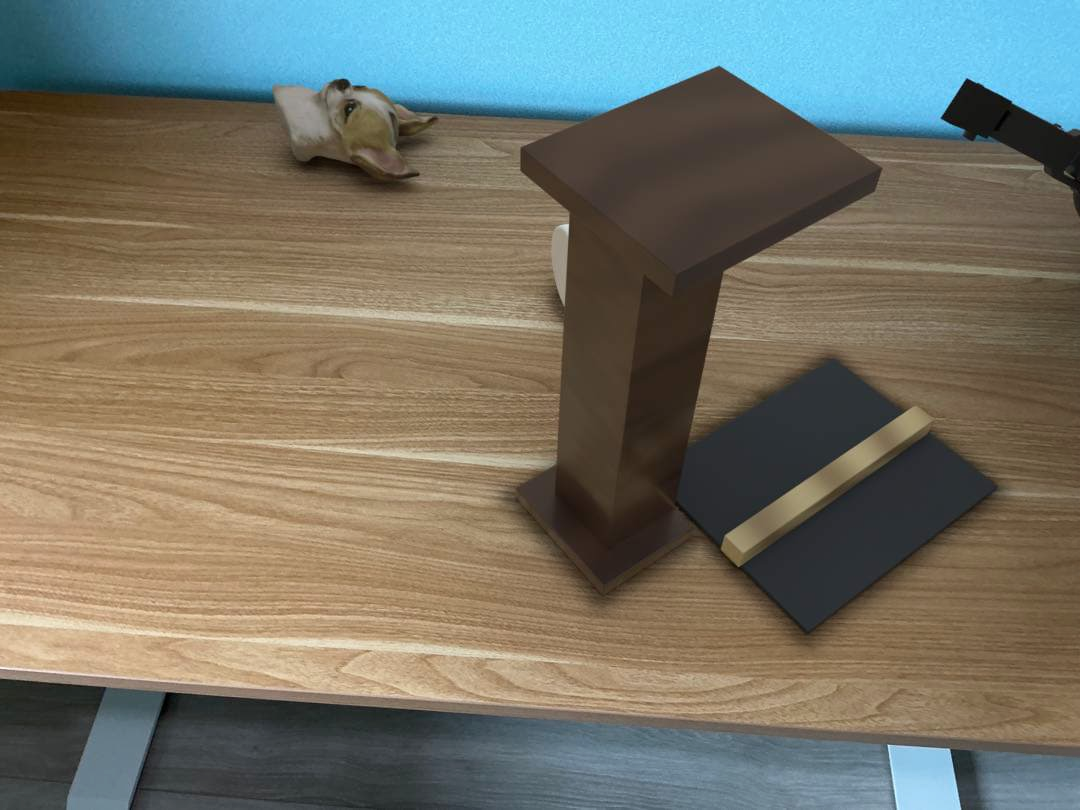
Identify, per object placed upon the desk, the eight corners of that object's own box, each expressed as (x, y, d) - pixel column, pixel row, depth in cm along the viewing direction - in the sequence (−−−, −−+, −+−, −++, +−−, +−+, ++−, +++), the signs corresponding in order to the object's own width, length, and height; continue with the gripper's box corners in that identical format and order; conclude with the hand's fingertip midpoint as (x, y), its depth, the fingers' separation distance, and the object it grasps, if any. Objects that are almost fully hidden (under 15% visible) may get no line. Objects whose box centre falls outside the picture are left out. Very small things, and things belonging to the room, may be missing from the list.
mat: (996, 489, 73) (998, 485, 72) (807, 634, 64) (808, 631, 64) (832, 360, 81) (833, 357, 81) (646, 475, 73) (646, 471, 72)
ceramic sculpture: (286, 40, 95) (440, 62, 95) (296, 118, 102) (440, 139, 102) (251, 101, 88) (417, 125, 88) (264, 181, 95) (418, 203, 95)
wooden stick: (908, 419, 76) (915, 404, 75) (927, 434, 75) (934, 419, 74) (719, 549, 68) (724, 535, 67) (738, 568, 67) (743, 553, 66)
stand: (772, 499, 72) (883, 167, 50) (612, 607, 66) (660, 282, 44) (662, 398, 78) (719, 65, 56) (506, 488, 72) (503, 153, 50)
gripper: (1270, 330, 68) (1211, 329, 53) (971, 156, 81) (853, 115, 66) (1355, 236, 65) (1320, 205, 50) (1029, 70, 78) (920, 5, 62)
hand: (1053, 153), depth 58 cm, fingers open, 13 cm apart
